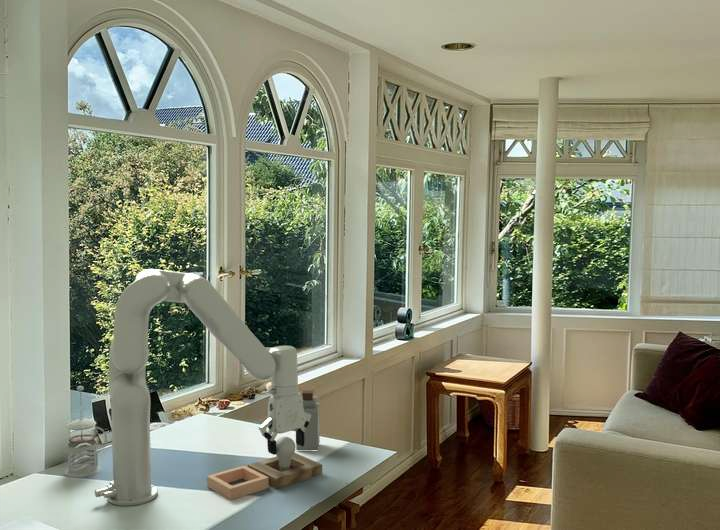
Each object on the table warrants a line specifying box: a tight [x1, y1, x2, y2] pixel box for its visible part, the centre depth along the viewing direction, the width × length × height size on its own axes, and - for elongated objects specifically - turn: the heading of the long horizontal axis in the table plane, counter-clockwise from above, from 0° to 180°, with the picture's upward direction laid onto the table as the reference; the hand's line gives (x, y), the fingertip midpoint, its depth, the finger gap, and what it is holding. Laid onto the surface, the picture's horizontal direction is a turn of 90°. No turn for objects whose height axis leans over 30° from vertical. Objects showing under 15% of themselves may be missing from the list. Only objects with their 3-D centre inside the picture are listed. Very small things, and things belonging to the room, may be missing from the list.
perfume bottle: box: [295, 389, 321, 451], centre depth 228 cm, size 7×7×18 cm
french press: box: [64, 385, 108, 478], centre depth 208 cm, size 10×12×25 cm
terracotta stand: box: [206, 464, 270, 501], centre depth 197 cm, size 12×12×3 cm
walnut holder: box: [246, 451, 323, 490], centre depth 206 cm, size 16×14×3 cm
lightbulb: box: [275, 436, 296, 472], centre depth 205 cm, size 6×6×11 cm
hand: (286, 449), depth 205 cm, fingers open, 9 cm apart
